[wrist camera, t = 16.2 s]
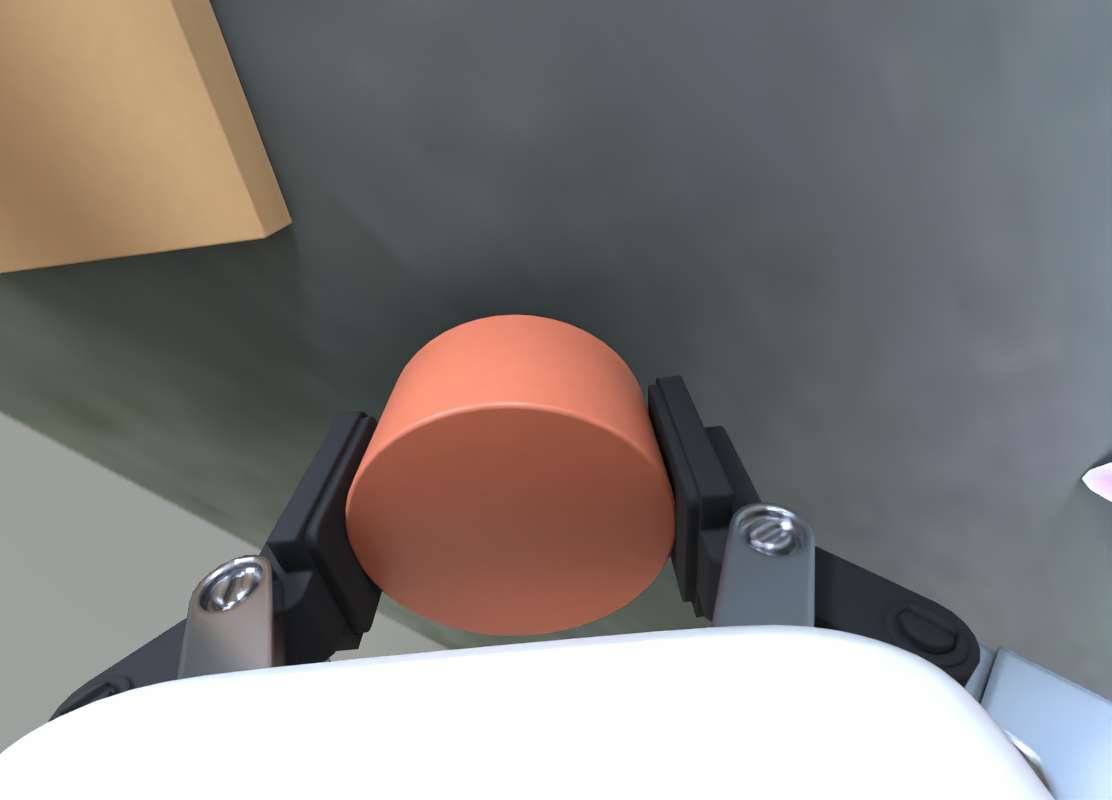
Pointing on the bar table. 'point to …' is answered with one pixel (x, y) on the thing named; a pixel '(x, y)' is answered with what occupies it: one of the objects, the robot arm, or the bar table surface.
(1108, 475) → the lily
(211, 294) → the bar table surface
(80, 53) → the board
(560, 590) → the terracotta disc
